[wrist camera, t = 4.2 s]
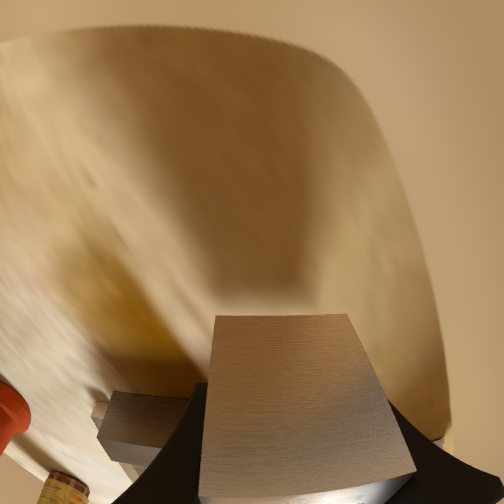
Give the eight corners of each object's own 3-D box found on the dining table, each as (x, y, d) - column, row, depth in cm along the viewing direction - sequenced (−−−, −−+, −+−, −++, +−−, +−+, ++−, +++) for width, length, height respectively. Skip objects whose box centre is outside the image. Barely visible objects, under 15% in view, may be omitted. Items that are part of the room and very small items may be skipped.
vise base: (293, 399, 18) (301, 450, 14) (265, 519, 30) (267, 543, 26) (90, 387, 17) (71, 431, 14) (167, 515, 29) (164, 538, 25)
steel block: (346, 313, 11) (417, 470, 5) (325, 397, 13) (357, 526, 7) (215, 315, 11) (198, 496, 5) (220, 400, 13) (215, 538, 7)
